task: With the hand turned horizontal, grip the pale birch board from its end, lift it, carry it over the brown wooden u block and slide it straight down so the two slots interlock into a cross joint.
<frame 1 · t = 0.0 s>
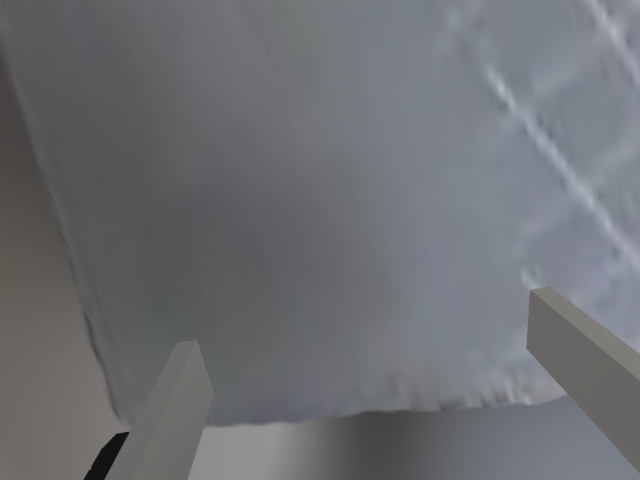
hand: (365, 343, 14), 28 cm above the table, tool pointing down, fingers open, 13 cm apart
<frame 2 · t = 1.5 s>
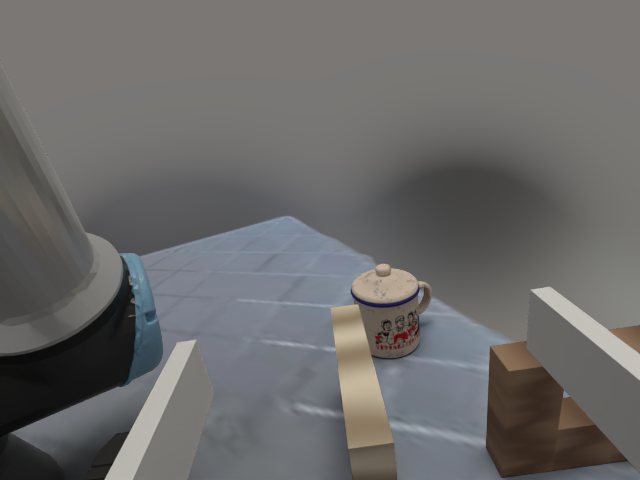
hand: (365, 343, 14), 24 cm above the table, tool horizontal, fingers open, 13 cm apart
birch board: (366, 455, 36), on the table
brown wooden u block: (569, 451, 34), on the table
teacup with lid: (397, 336, 52), on the table
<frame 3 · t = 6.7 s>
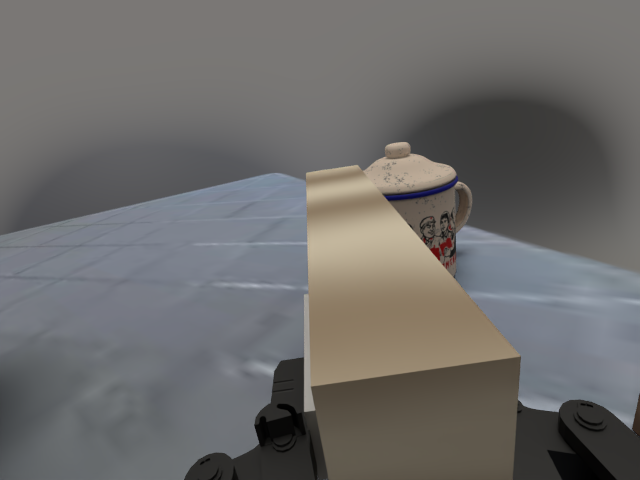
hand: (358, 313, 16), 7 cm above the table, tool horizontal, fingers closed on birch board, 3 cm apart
birch board: (377, 448, 17), on the table, touching gripper
teacup with lid: (419, 270, 34), on the table
when the fingers open (8 cm above the table, at t = 13.7 s): birch board drops 1 cm, on the table.
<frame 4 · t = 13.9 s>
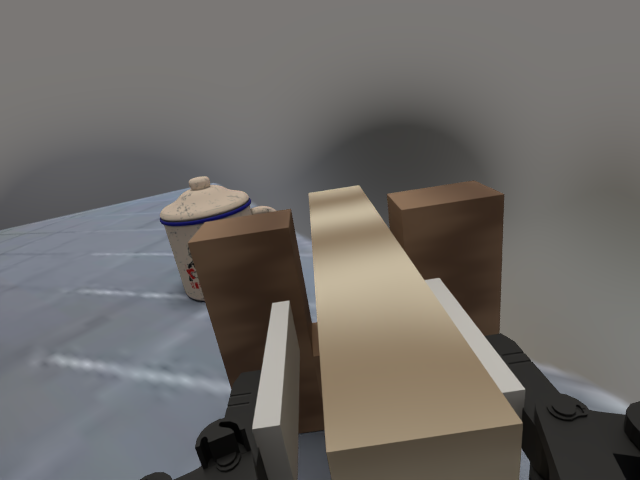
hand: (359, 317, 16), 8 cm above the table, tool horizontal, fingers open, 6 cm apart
birch board: (380, 467, 18), on the table
brown wooden u block: (367, 402, 22), on the table
teacup with lid: (239, 279, 41), on the table
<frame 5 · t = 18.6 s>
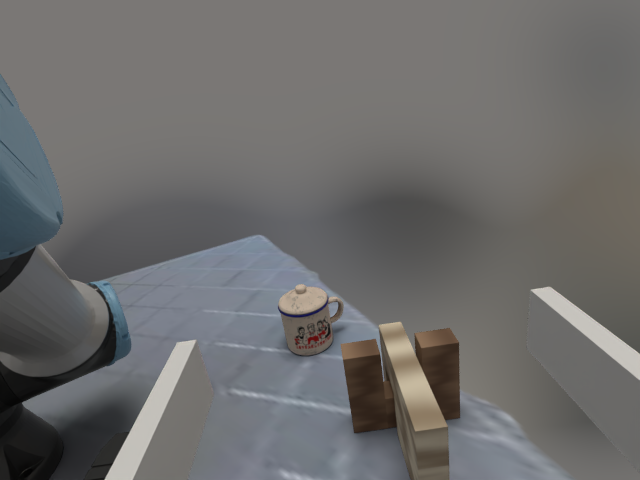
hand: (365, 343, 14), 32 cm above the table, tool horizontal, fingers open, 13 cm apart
birch board: (412, 442, 45), on the table
brown wooden u block: (404, 416, 49), on the table
teacup with lid: (317, 339, 68), on the table
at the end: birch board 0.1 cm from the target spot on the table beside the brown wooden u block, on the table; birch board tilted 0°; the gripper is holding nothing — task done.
